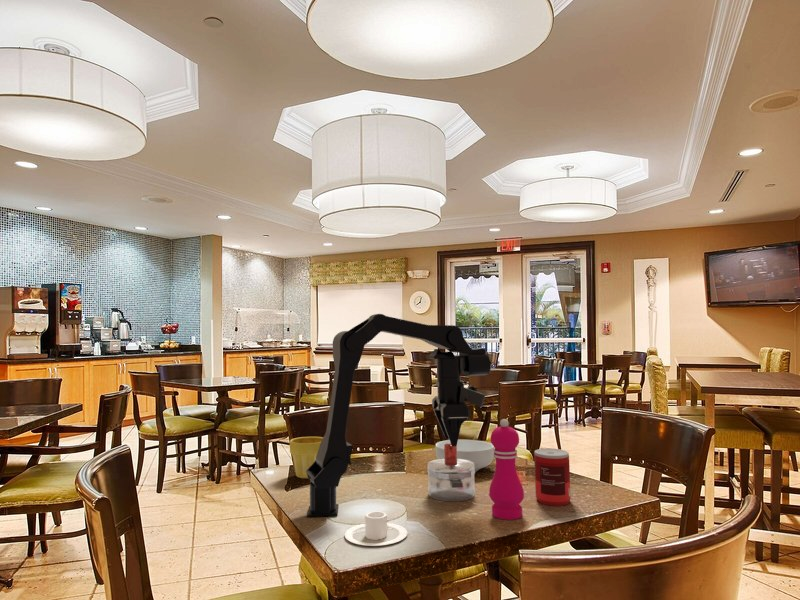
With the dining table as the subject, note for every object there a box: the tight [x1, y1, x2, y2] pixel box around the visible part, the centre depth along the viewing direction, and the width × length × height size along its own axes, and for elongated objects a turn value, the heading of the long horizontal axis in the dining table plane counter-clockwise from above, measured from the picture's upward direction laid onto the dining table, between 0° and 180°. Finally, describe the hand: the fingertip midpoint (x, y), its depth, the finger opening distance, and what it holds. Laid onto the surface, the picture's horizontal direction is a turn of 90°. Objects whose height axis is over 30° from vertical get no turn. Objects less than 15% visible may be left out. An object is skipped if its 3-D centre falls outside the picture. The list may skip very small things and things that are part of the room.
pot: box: [427, 468, 476, 502], centre depth 128 cm, size 16×11×6 cm
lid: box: [427, 444, 474, 474], centre depth 128 cm, size 11×11×6 cm
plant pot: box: [289, 436, 324, 479], centre depth 148 cm, size 10×10×10 cm
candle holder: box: [344, 511, 408, 547], centre depth 102 cm, size 12×12×4 cm
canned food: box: [533, 447, 571, 507], centre depth 122 cm, size 8×8×11 cm
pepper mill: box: [488, 418, 525, 521], centre depth 113 cm, size 7×7×20 cm
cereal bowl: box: [434, 439, 495, 473], centre depth 151 cm, size 17×17×7 cm
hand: (450, 442), depth 128 cm, fingers open, 9 cm apart
